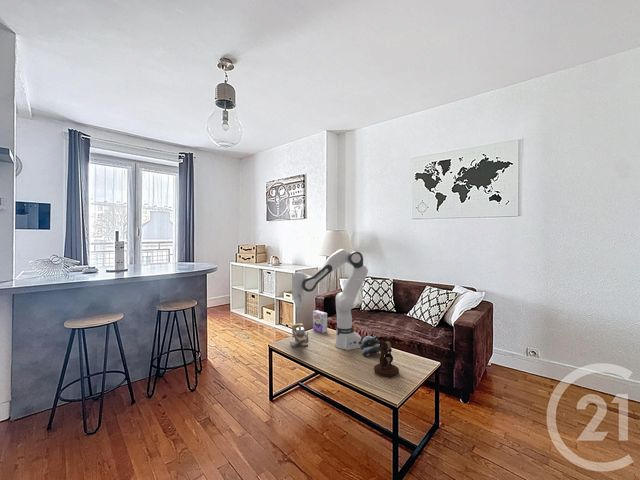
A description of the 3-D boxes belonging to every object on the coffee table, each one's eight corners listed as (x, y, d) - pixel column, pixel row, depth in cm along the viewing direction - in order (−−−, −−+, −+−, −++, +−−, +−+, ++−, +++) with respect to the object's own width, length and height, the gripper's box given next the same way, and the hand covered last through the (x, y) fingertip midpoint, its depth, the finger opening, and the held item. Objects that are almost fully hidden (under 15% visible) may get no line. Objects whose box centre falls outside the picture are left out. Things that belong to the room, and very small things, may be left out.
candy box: (312, 329, 262) (312, 310, 262) (317, 328, 266) (317, 309, 266) (322, 333, 251) (322, 314, 251) (327, 332, 255) (327, 312, 255)
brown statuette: (381, 365, 190) (381, 334, 190) (403, 371, 181) (403, 339, 180) (369, 373, 179) (369, 340, 178) (392, 381, 169) (392, 346, 169)
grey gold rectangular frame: (305, 340, 234) (304, 323, 234) (311, 353, 210) (311, 333, 210) (289, 342, 232) (289, 324, 231) (294, 354, 207) (294, 334, 207)
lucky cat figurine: (361, 357, 202) (355, 336, 207) (363, 358, 212) (358, 338, 218) (382, 352, 199) (376, 331, 205) (383, 353, 210) (378, 333, 216)
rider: (302, 332, 223) (302, 325, 223) (304, 334, 218) (303, 327, 218) (296, 333, 222) (296, 326, 222) (297, 335, 217) (297, 328, 217)
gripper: (304, 295, 218) (304, 314, 218) (300, 290, 238) (300, 307, 238) (295, 296, 216) (296, 315, 216) (292, 290, 236) (292, 308, 236)
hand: (298, 311), depth 227 cm, fingers open, 5 cm apart
